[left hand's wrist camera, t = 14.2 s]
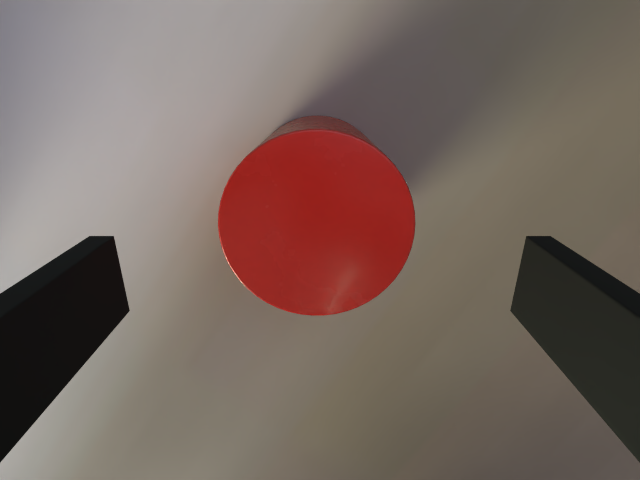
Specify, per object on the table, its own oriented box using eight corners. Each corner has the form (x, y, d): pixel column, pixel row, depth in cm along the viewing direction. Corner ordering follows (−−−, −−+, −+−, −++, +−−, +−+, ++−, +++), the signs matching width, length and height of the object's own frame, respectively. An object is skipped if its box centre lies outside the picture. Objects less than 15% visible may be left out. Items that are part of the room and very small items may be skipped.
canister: (280, 259, 28) (262, 336, 19) (231, 142, 25) (183, 170, 16) (396, 221, 27) (435, 285, 18) (360, 95, 24) (385, 97, 15)
